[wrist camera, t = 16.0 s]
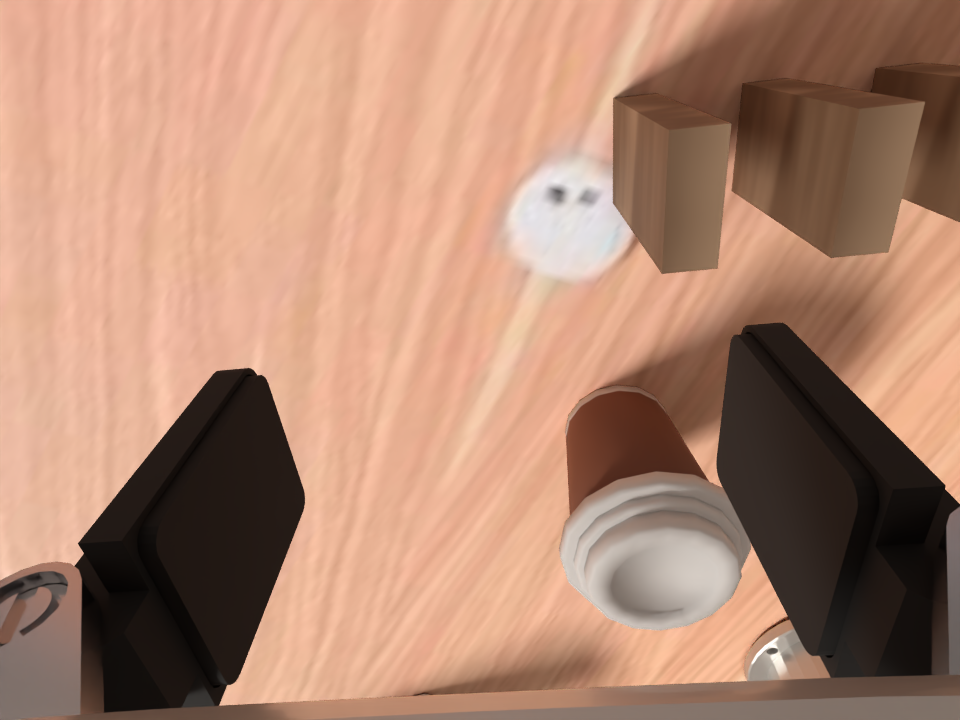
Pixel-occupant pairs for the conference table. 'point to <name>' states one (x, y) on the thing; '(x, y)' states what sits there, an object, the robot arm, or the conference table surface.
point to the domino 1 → (670, 179)
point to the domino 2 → (826, 161)
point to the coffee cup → (645, 516)
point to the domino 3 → (930, 132)
